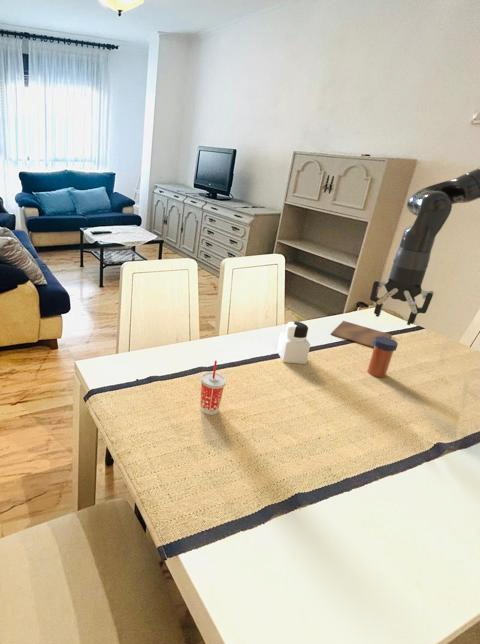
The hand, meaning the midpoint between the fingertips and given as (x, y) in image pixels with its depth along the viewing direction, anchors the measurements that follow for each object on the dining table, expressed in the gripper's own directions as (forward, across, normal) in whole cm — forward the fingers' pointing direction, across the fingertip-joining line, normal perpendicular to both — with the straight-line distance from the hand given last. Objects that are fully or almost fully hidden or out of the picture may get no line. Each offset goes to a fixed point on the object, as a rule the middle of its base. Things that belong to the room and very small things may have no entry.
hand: (392, 319), depth 111 cm
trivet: (+18, +10, -26) cm, 33 cm away
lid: (+7, 0, 0) cm, 7 cm away
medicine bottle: (+18, +22, +10) cm, 30 cm away
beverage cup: (+18, +27, +52) cm, 61 cm away
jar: (+18, 0, 0) cm, 18 cm away
